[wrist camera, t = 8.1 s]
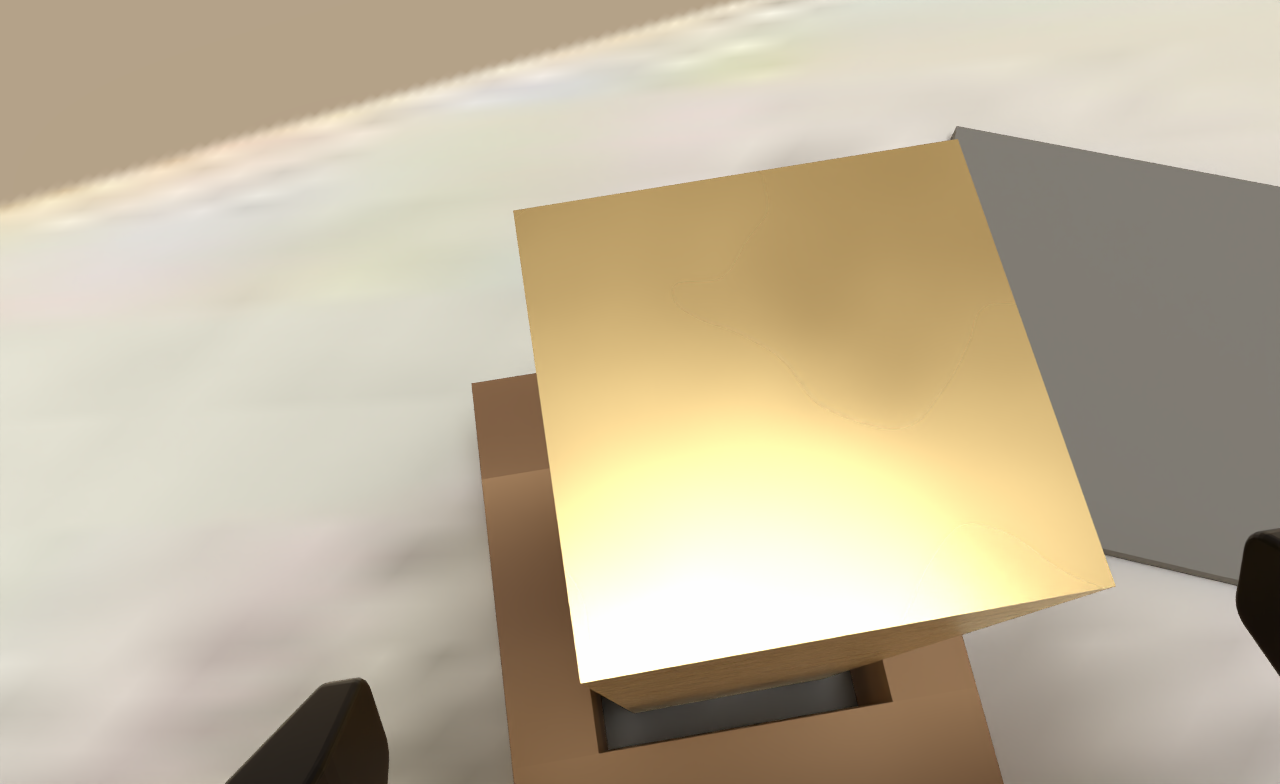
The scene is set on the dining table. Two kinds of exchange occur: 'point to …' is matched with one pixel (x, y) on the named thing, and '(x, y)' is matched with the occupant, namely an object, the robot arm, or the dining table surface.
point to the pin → (793, 426)
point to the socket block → (709, 762)
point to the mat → (1148, 339)
